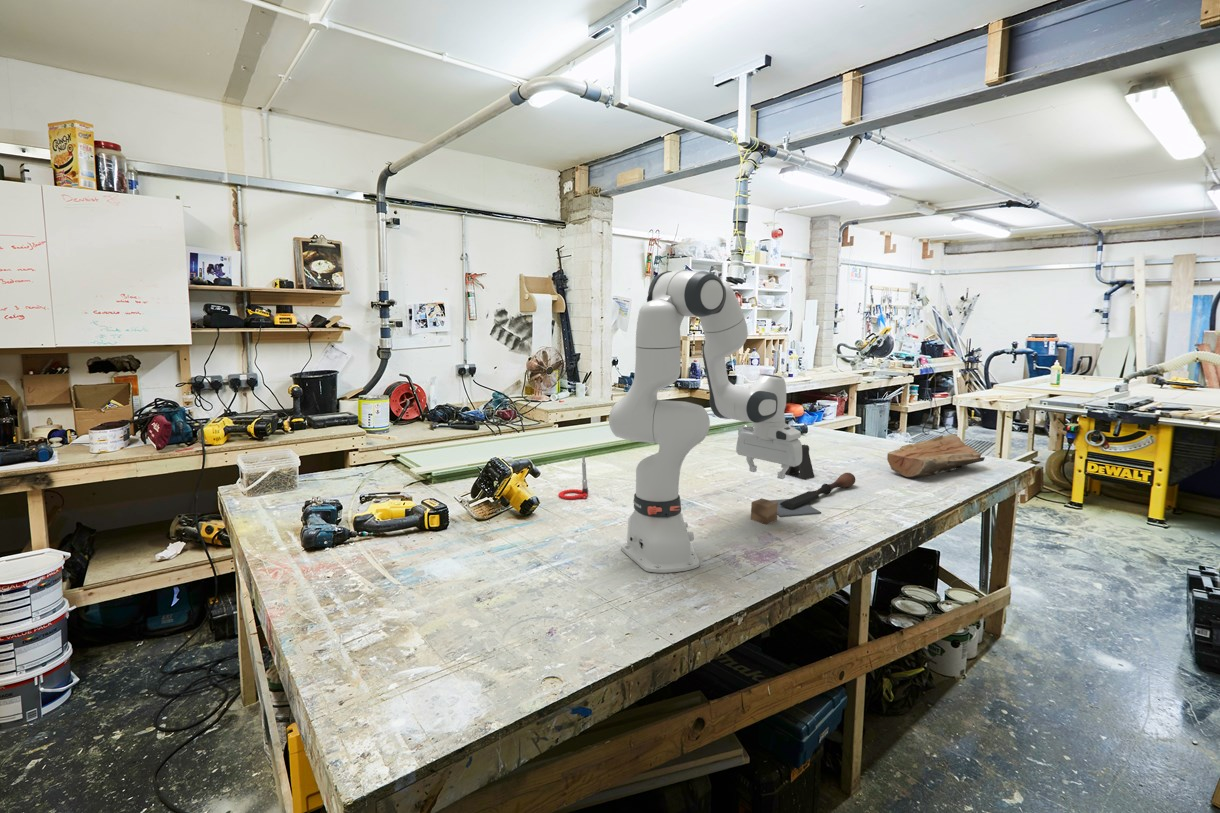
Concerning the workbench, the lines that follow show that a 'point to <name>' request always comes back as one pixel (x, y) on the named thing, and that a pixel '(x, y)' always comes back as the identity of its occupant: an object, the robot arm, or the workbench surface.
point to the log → (932, 456)
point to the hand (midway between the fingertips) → (766, 474)
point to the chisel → (819, 491)
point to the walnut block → (764, 511)
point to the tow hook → (582, 493)
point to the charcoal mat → (795, 510)
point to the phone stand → (802, 466)
